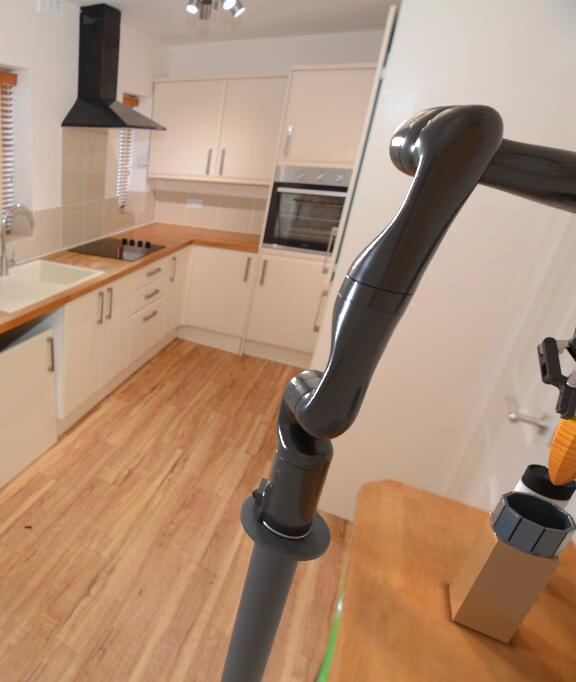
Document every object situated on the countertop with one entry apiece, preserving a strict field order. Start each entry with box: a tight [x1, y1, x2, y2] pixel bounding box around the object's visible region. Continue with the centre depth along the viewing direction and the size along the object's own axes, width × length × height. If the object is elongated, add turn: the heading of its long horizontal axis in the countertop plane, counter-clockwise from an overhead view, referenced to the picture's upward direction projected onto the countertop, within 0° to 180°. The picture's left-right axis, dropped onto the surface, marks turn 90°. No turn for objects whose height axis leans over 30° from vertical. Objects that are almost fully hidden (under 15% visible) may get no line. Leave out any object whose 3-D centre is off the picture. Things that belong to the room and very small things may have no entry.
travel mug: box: [513, 463, 576, 511], centre depth 81 cm, size 6×7×20 cm
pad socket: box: [448, 490, 576, 644], centre depth 70 cm, size 8×8×23 cm
